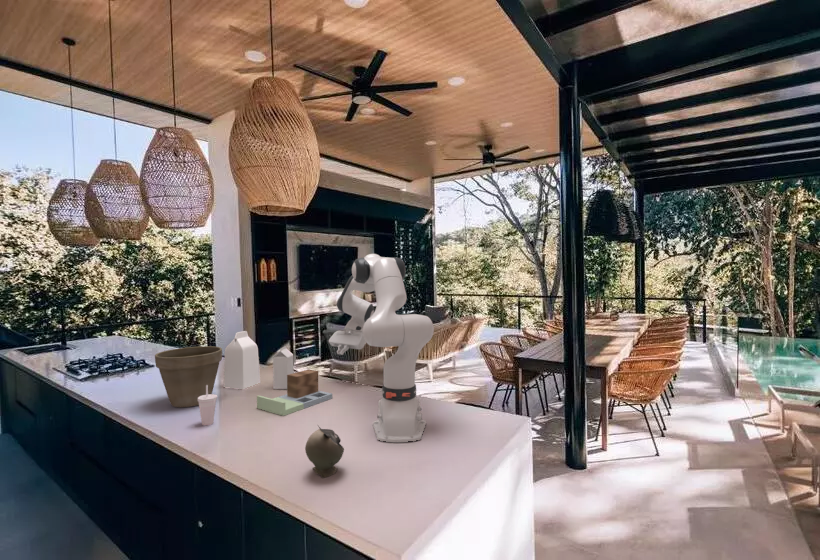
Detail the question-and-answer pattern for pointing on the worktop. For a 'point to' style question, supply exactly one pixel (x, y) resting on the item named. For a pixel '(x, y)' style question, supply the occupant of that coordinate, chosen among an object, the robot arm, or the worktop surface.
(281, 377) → the milk carton
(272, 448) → the worktop surface
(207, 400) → the smoothie
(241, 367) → the milk
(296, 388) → the walnut block
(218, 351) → the plant pot
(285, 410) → the trap deck
